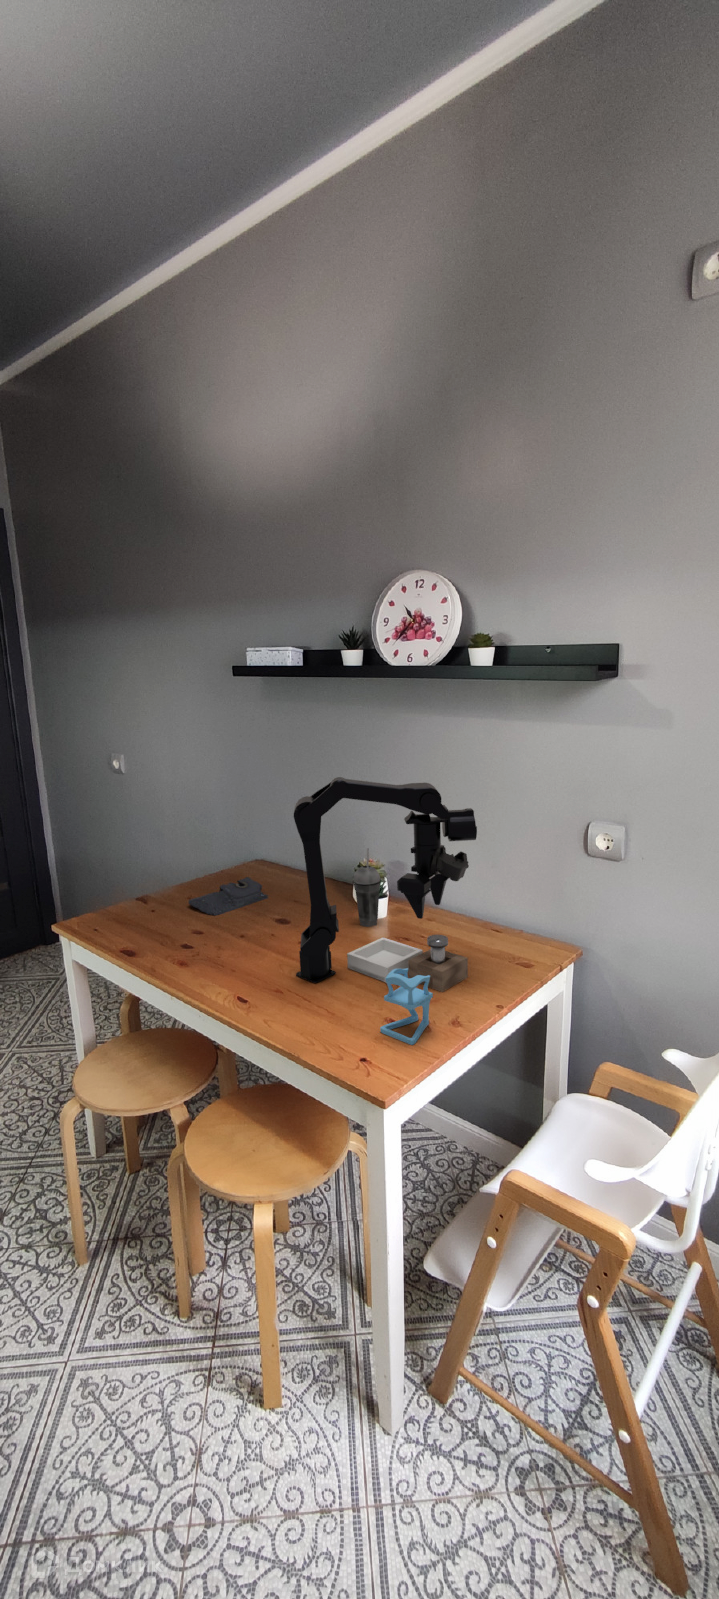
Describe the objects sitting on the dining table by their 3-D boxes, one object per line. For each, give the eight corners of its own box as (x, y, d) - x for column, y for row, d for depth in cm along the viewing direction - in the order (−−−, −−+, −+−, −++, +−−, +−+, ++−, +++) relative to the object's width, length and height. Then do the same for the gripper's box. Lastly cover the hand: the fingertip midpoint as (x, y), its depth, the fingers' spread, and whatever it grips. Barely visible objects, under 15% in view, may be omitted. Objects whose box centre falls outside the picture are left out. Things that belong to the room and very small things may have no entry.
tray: (387, 983, 156) (387, 967, 156) (347, 968, 165) (347, 953, 164) (423, 964, 165) (422, 950, 164) (383, 951, 173) (382, 937, 172)
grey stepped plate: (180, 907, 210) (179, 891, 209) (241, 887, 226) (240, 873, 225) (213, 919, 200) (212, 902, 199) (274, 897, 216) (273, 882, 215)
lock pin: (440, 985, 155) (439, 944, 153) (423, 979, 158) (423, 939, 156) (452, 977, 158) (452, 937, 156) (436, 972, 161) (435, 932, 159)
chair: (439, 1027, 137) (438, 967, 135) (412, 1045, 131) (410, 983, 129) (407, 1014, 143) (405, 957, 140) (379, 1032, 137) (377, 972, 134)
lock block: (442, 992, 151) (441, 971, 150) (408, 979, 157) (408, 960, 157) (467, 977, 158) (467, 957, 157) (434, 966, 164) (434, 947, 163)
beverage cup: (349, 926, 189) (346, 851, 186) (362, 916, 196) (359, 844, 192) (374, 930, 186) (372, 854, 182) (387, 920, 192) (384, 847, 188)
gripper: (445, 857, 145) (446, 931, 148) (478, 835, 161) (479, 902, 164) (394, 852, 150) (397, 923, 154) (432, 831, 166) (433, 896, 169)
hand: (429, 911), depth 160 cm, fingers open, 9 cm apart
